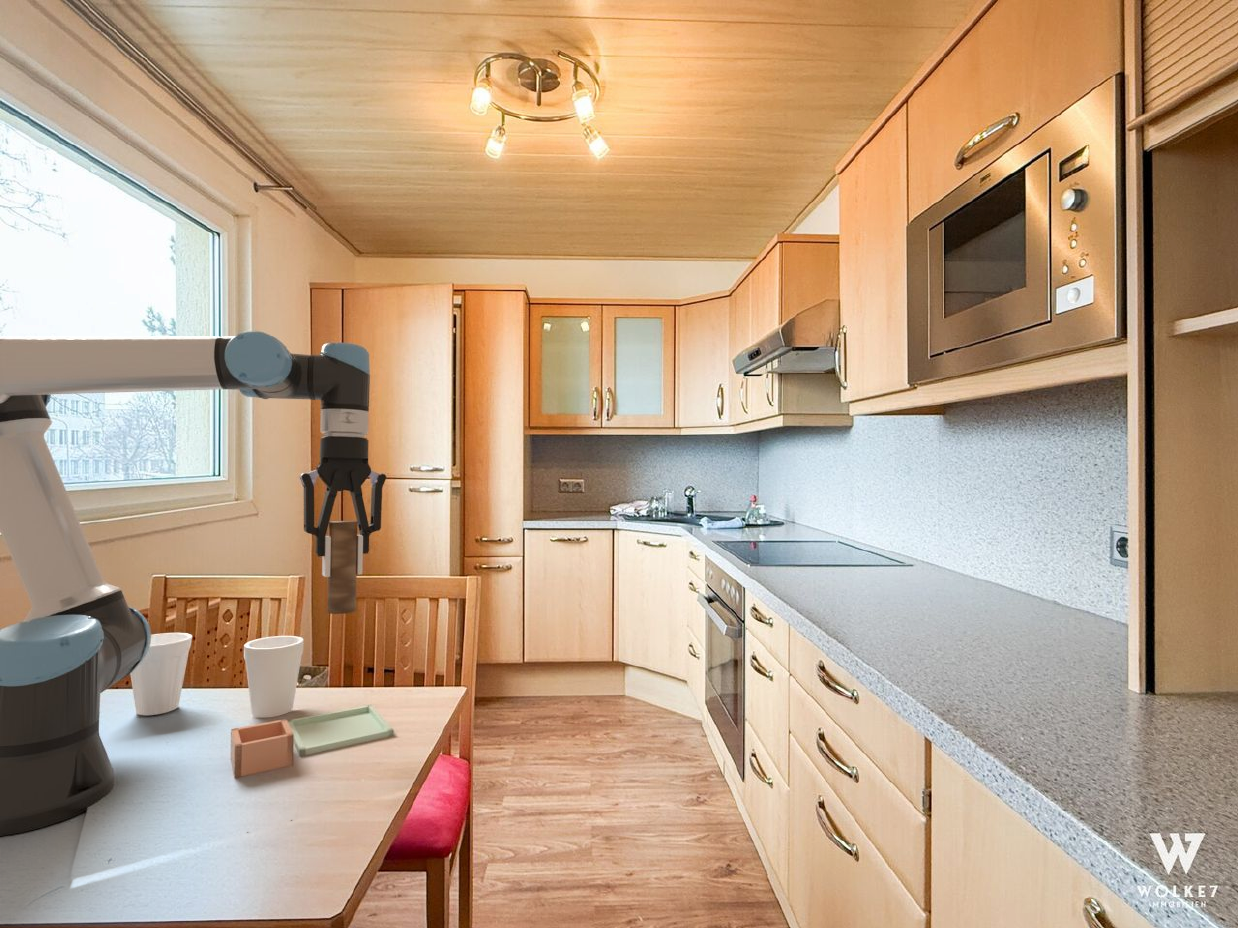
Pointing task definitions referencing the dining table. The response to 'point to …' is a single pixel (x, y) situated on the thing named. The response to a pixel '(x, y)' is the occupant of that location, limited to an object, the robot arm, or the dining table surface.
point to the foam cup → (272, 674)
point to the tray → (338, 729)
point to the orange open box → (261, 748)
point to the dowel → (342, 567)
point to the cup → (161, 674)
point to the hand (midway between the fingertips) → (342, 574)
